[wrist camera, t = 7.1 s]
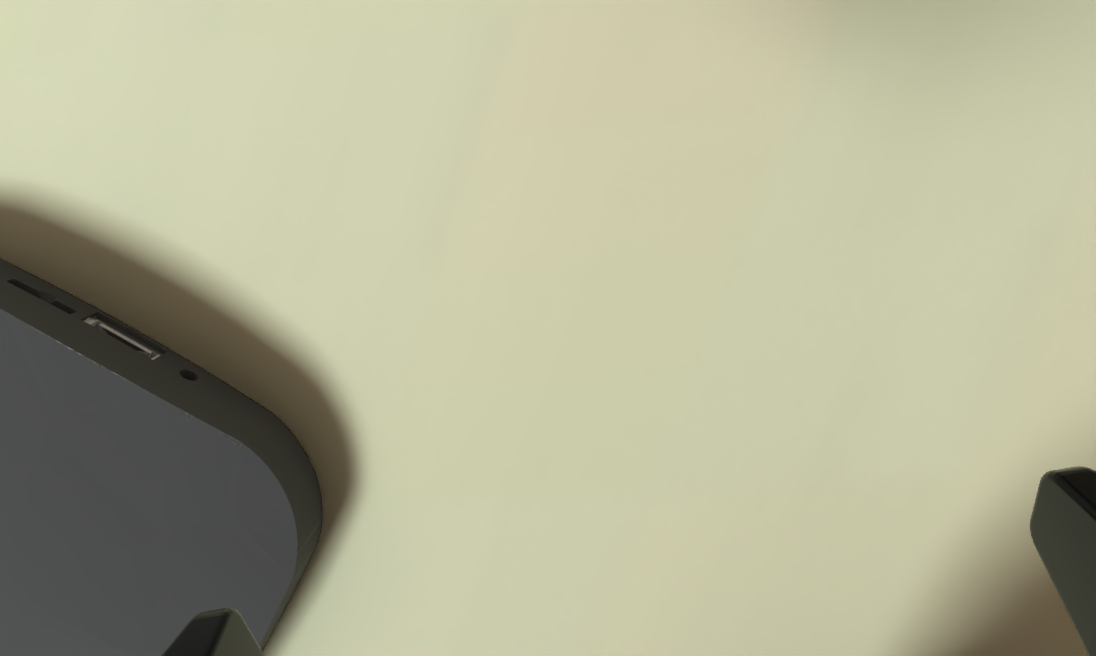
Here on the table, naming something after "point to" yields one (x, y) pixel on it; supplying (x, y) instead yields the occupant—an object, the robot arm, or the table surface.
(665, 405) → the table surface
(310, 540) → the media streaming box
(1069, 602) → the robot arm
